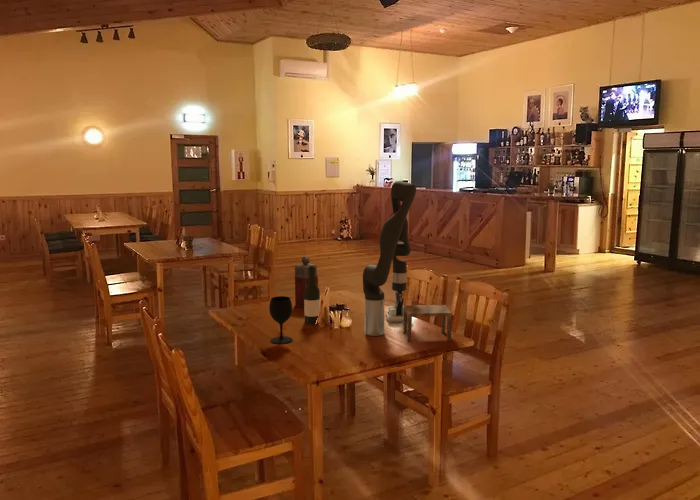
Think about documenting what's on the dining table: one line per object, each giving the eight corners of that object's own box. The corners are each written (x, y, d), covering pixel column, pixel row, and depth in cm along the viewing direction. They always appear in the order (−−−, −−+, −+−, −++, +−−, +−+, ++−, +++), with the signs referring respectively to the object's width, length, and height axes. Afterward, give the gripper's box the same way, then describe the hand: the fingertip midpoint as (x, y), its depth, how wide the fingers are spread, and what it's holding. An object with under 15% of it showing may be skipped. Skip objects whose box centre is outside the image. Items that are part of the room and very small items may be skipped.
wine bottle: (301, 323, 295) (300, 265, 290) (308, 319, 303) (307, 262, 298) (316, 325, 292) (315, 266, 287) (323, 320, 300) (322, 263, 294)
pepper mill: (320, 303, 333) (319, 255, 328) (306, 307, 325) (305, 258, 320) (308, 301, 339) (308, 254, 334) (295, 305, 330) (294, 256, 326)
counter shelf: (407, 342, 266) (408, 313, 264) (403, 332, 280) (403, 305, 278) (450, 341, 267) (451, 312, 265) (444, 331, 281) (445, 304, 279)
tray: (388, 321, 293) (388, 308, 292) (385, 316, 303) (385, 303, 302) (411, 321, 294) (412, 307, 293) (408, 315, 304) (408, 302, 303)
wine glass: (274, 345, 262) (273, 302, 259) (267, 338, 271) (265, 297, 268) (296, 341, 267) (295, 299, 263) (287, 335, 276) (287, 294, 273)
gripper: (390, 278, 302) (389, 310, 305) (394, 284, 288) (393, 317, 291) (404, 278, 302) (403, 310, 305) (409, 283, 289) (408, 317, 292)
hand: (398, 313), depth 298 cm, fingers closed on tray, 1 cm apart
